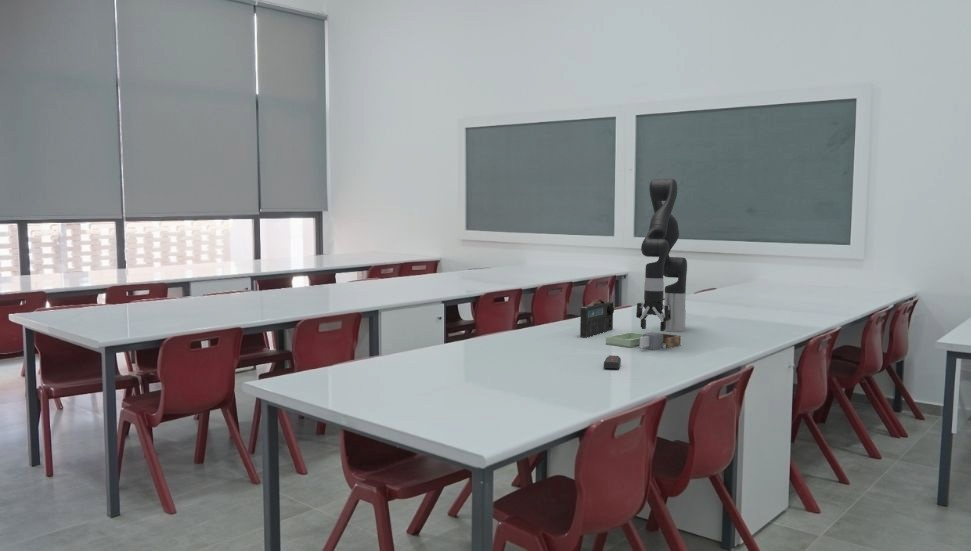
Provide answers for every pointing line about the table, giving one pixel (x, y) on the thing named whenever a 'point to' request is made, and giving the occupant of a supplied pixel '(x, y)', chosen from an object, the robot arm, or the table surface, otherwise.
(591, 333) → the radio
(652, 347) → the grey block with stick
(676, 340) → the u-shaped wooden frame
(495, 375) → the table surface
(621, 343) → the tray
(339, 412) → the table surface
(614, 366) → the usb drive
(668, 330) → the robot arm
